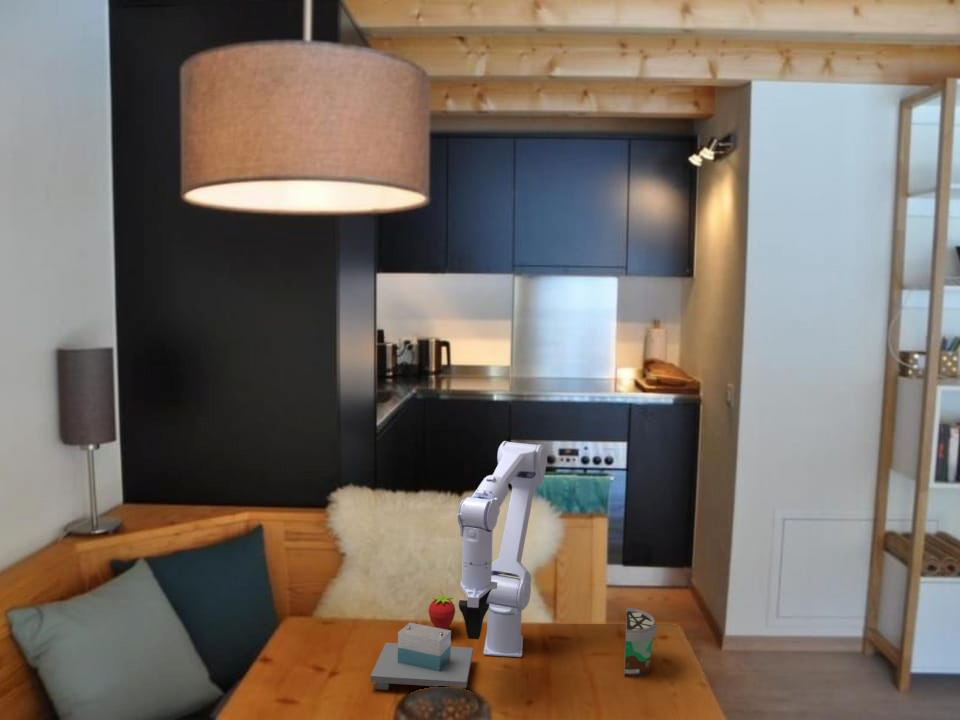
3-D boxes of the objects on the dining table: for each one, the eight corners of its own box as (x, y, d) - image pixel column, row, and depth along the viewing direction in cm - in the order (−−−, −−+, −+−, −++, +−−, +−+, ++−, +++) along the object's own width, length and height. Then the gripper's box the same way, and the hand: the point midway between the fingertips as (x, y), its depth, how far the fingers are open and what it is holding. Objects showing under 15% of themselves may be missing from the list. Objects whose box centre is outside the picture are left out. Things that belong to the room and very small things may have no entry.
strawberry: (426, 641, 160) (427, 596, 159) (429, 626, 167) (430, 583, 167) (454, 642, 160) (455, 597, 159) (455, 627, 167) (456, 584, 167)
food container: (656, 684, 144) (658, 634, 143) (624, 680, 145) (626, 630, 144) (654, 655, 156) (656, 609, 155) (624, 652, 157) (626, 606, 156)
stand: (385, 656, 152) (385, 642, 152) (472, 662, 151) (472, 647, 151) (370, 691, 138) (370, 675, 138) (465, 697, 137) (466, 682, 137)
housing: (409, 651, 148) (409, 620, 148) (450, 660, 145) (450, 629, 145) (397, 662, 144) (398, 630, 143) (439, 671, 141) (440, 639, 140)
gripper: (495, 574, 134) (493, 647, 135) (499, 549, 148) (498, 615, 149) (456, 572, 134) (455, 645, 135) (464, 547, 149) (463, 613, 150)
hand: (475, 629), depth 142 cm, fingers open, 7 cm apart
